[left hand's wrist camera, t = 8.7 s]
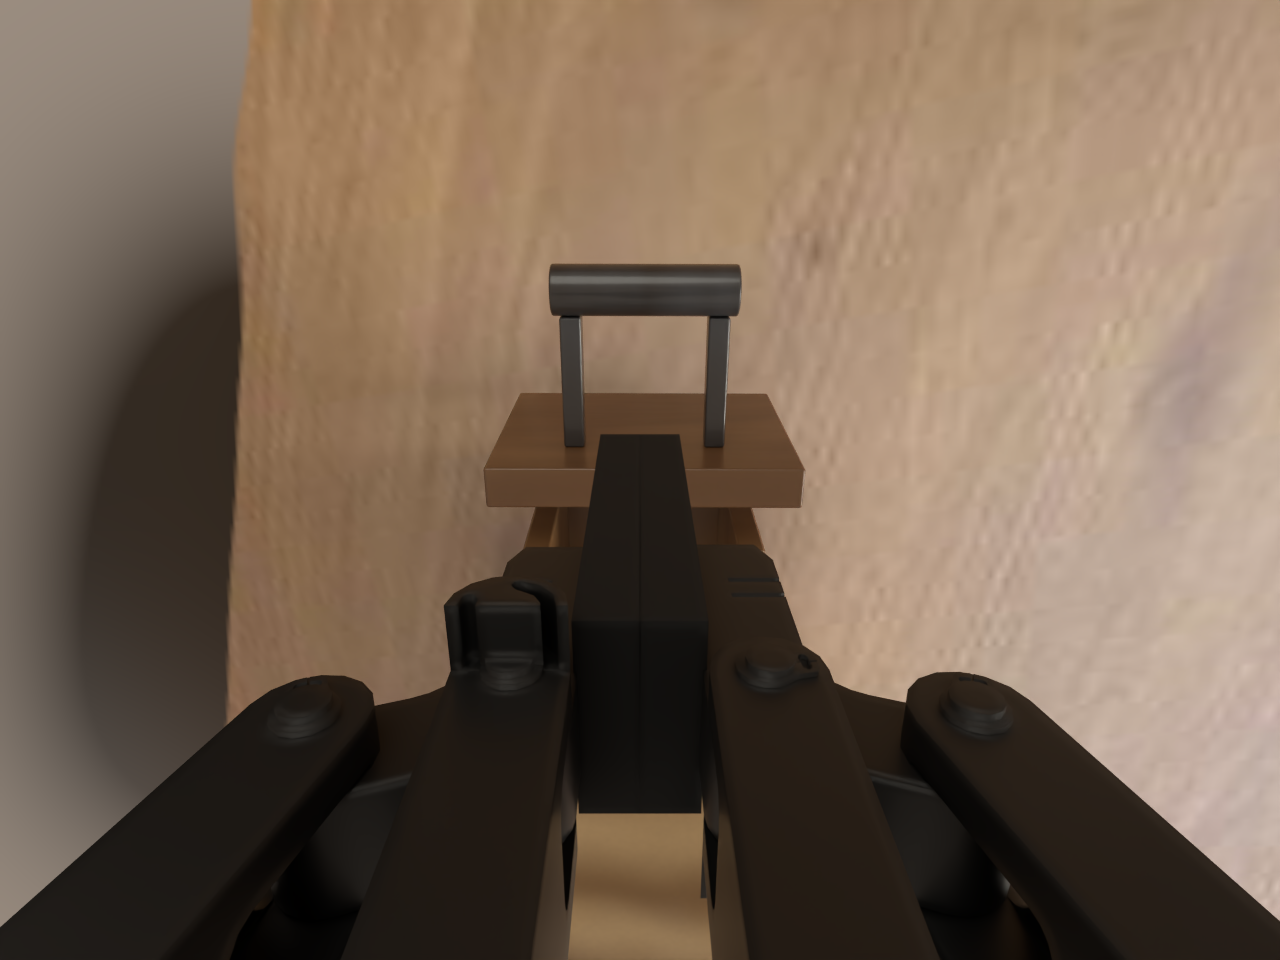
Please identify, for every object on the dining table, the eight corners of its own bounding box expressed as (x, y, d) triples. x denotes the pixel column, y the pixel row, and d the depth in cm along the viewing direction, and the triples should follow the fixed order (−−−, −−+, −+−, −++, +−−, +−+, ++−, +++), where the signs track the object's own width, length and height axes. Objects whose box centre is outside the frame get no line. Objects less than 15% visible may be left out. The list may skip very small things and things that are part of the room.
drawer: (510, 241, 25) (466, 274, 19) (778, 242, 25) (824, 275, 19) (545, 796, 35) (524, 941, 29) (738, 797, 35) (759, 942, 29)
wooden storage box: (522, 596, 32) (481, 753, 24) (762, 597, 32) (804, 754, 24) (545, 930, 40) (521, 1131, 32) (736, 930, 40) (760, 1132, 32)
